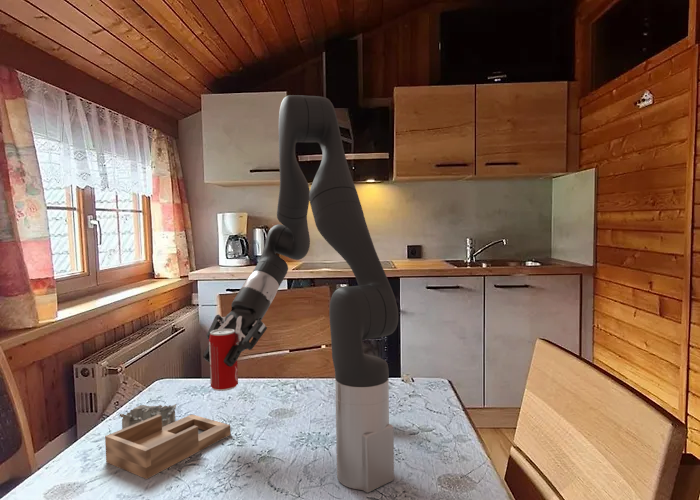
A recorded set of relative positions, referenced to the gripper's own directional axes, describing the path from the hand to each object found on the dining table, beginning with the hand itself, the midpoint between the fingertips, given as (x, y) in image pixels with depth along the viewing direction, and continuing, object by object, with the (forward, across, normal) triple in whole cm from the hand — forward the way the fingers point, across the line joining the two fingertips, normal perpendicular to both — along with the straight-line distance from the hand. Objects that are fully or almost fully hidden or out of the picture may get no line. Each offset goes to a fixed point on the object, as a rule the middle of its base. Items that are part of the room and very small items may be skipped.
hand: (216, 362), depth 95 cm
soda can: (+3, 0, +6) cm, 6 cm away
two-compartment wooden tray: (+17, -6, +6) cm, 19 cm away
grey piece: (+14, -20, +10) cm, 26 cm away
